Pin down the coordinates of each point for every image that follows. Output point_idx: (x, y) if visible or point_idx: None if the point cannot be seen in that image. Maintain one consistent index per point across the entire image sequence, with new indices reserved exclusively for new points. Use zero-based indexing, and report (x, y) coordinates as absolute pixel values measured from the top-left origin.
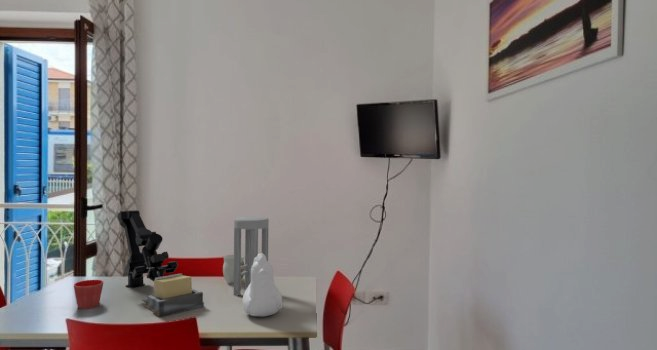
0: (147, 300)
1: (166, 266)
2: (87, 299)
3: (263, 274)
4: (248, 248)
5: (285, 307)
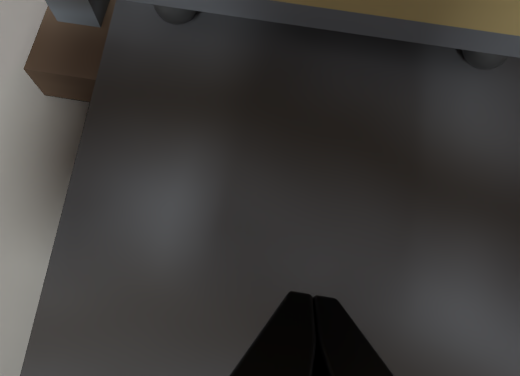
0: (496, 347)
1: None
2: None
3: None
4: None
5: None
